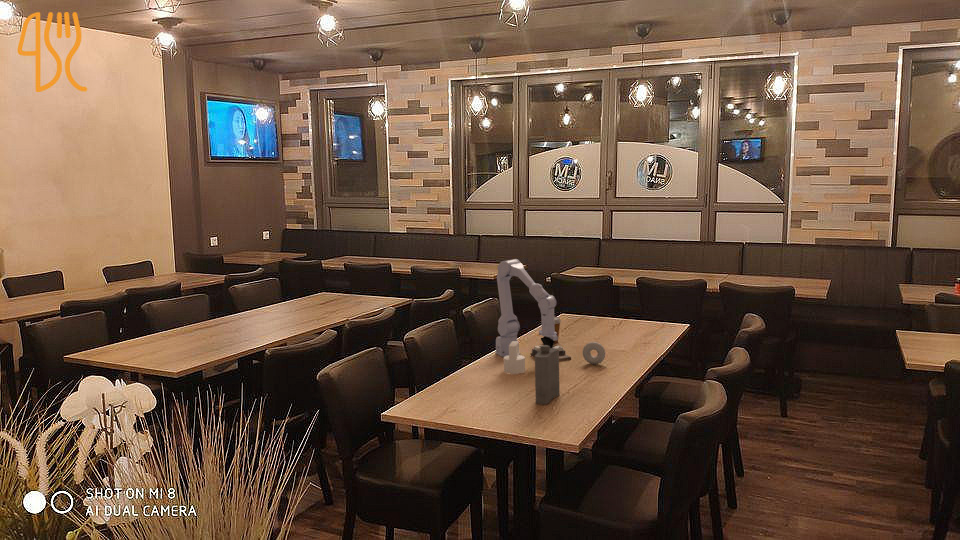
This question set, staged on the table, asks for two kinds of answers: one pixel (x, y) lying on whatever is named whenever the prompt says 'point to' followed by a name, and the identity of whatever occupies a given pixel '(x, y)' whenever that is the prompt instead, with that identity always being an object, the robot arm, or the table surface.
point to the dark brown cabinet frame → (561, 355)
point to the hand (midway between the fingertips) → (548, 353)
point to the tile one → (537, 348)
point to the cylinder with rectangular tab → (514, 360)
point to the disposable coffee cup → (557, 326)
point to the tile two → (558, 348)
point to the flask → (546, 374)
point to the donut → (589, 357)
